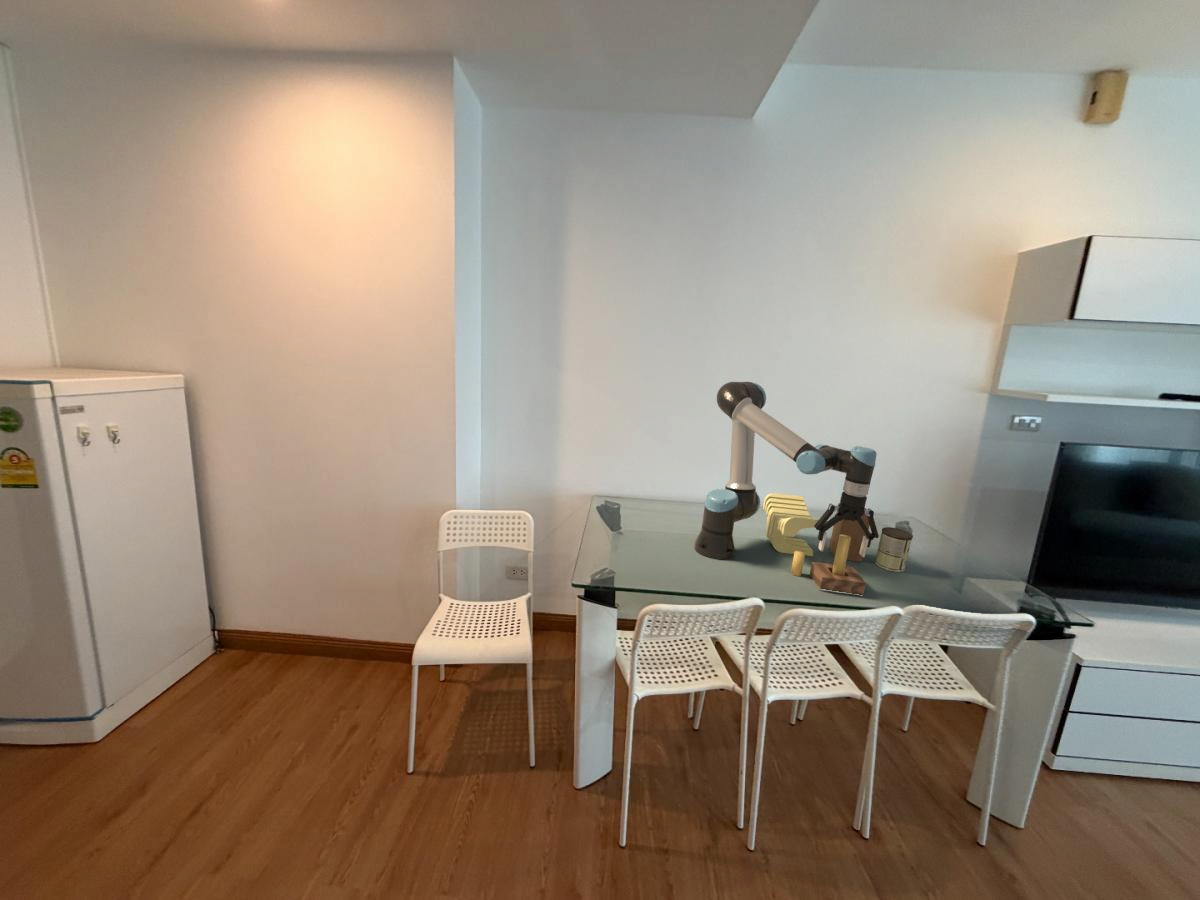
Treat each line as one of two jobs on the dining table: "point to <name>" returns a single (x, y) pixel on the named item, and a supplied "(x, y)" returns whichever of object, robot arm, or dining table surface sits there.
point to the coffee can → (893, 549)
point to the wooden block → (852, 531)
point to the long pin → (841, 555)
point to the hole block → (837, 579)
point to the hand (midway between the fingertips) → (841, 552)
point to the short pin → (797, 563)
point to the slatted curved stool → (787, 522)
